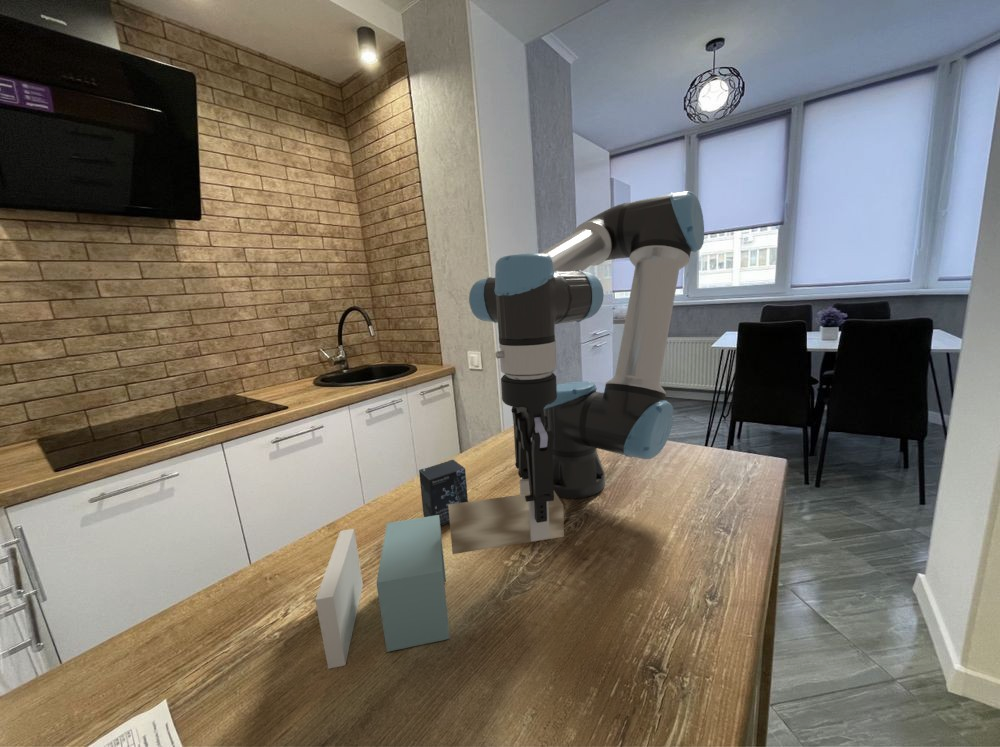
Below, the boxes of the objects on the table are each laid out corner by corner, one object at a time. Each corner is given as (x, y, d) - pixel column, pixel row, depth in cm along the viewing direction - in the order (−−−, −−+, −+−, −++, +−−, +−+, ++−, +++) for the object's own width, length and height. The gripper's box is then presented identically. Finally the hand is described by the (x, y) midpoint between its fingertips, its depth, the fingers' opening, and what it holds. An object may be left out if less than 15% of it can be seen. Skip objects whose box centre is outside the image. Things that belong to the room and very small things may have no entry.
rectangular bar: (554, 519, 61) (553, 490, 59) (563, 536, 56) (563, 505, 55) (450, 535, 58) (448, 504, 57) (452, 554, 54) (449, 521, 53)
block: (445, 571, 64) (439, 514, 62) (449, 638, 51) (442, 571, 49) (394, 580, 62) (386, 523, 60) (386, 651, 50) (376, 582, 48)
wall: (362, 584, 62) (354, 528, 60) (345, 665, 49) (333, 596, 47) (349, 587, 62) (340, 530, 60) (328, 669, 48) (315, 599, 46)
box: (434, 530, 75) (429, 479, 73) (423, 517, 80) (417, 469, 78) (470, 515, 80) (465, 467, 77) (457, 503, 84) (453, 458, 82)
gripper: (490, 364, 61) (499, 501, 65) (515, 391, 44) (524, 572, 49) (537, 360, 62) (542, 495, 67) (578, 384, 45) (581, 562, 50)
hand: (535, 527), depth 58 cm, fingers closed on rectangular bar, 4 cm apart
